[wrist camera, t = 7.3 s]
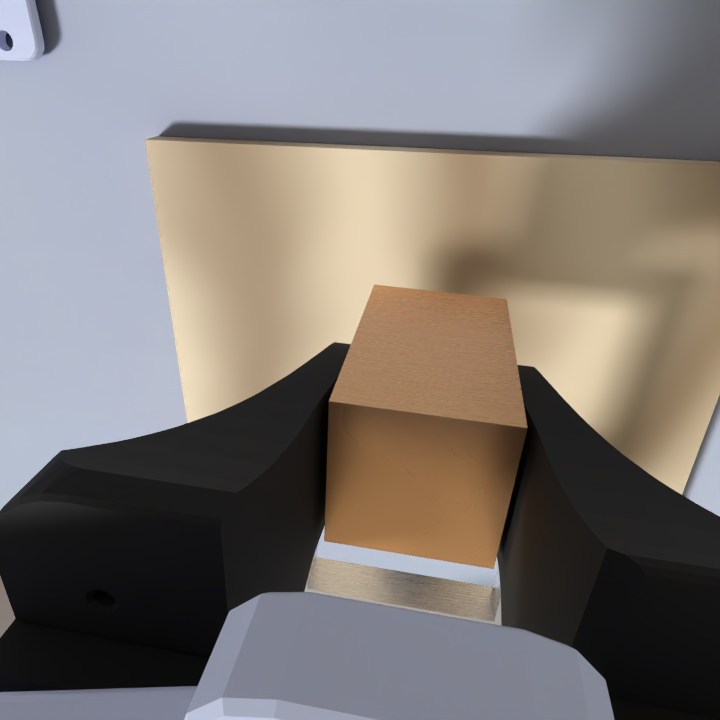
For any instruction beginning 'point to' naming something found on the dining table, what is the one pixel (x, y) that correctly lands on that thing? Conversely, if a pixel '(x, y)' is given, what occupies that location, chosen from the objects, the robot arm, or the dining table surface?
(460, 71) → the dining table surface
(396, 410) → the square frame with cube
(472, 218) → the board
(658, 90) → the dining table surface
